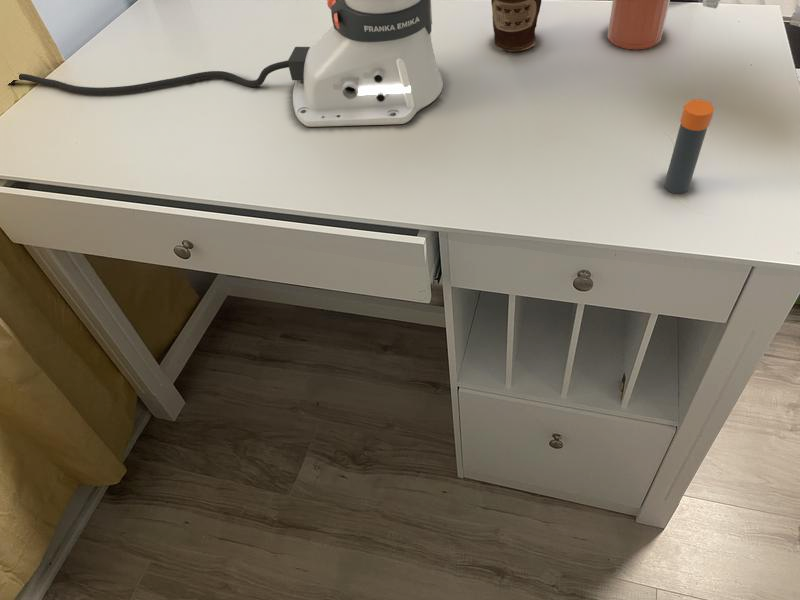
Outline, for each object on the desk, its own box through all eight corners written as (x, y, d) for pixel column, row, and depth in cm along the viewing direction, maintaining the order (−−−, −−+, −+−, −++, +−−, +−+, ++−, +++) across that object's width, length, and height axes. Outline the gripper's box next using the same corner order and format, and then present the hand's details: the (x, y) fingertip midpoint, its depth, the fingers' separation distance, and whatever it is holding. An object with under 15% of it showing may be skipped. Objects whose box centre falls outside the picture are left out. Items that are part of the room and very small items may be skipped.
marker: (668, 196, 79) (691, 117, 71) (659, 180, 81) (680, 101, 73) (693, 192, 79) (718, 112, 71) (683, 176, 81) (707, 97, 73)
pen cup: (617, 52, 100) (628, -14, 93) (600, 27, 106) (610, -38, 98) (669, 45, 100) (684, -22, 93) (650, 20, 106) (663, -46, 98)
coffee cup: (540, 58, 101) (546, -29, 91) (485, 57, 103) (486, -29, 93) (543, 29, 107) (549, -56, 97) (491, 29, 108) (492, -55, 99)
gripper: (712, -144, 73) (656, -16, 75) (926, -120, 63) (854, 24, 66) (716, -112, 78) (664, 5, 81) (914, -86, 69) (848, 46, 72)
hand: (751, 14), depth 73 cm, fingers open, 8 cm apart
